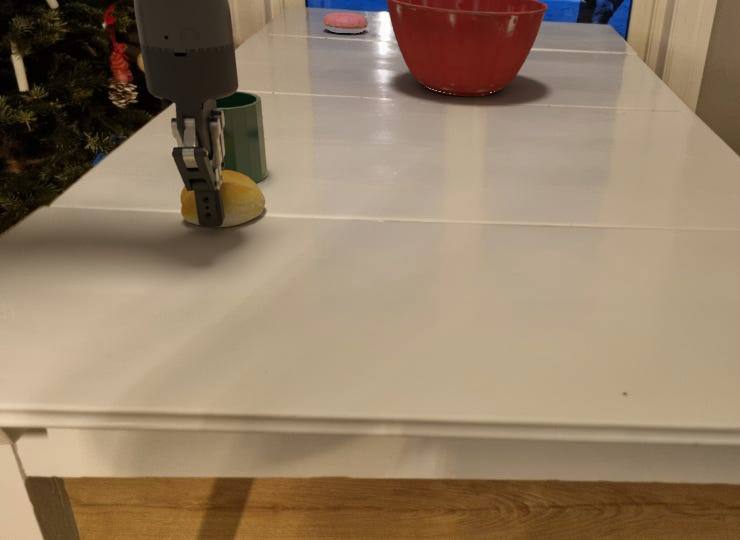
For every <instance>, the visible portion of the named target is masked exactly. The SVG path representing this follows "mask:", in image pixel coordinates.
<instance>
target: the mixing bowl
mask: <svg viewBox="0 0 740 540" xmlns="http://www.w3.org/2000/svg"><path fill="white" fill-rule="evenodd" d="M386 4H387V9H388V15H389V19H390V23H391V28H392V31H393V34H394V37H395V40H396V43H397V46H398V48H399V52H400V54H401V57H402V59H403V61H404V63H405V66H406V67H407V69H408V71H409V72H410V74H411V75H412V76H413V78H414V79H416V81H418V82H419V83H420V84H422V85H423V86H424V87H425V88H426V89H427V90H430V91H432V92H434V93H439V94H443V95H448V96H458V97H484V96H489V95H493V94H496V93H498V92H499V90H502V89H504V88H505V87H507V86H508V85H509V84H510V83H511V82H512V81H513V80H514V79H515V78H516V77H517V75H518V74H519V72H520V71H521V69H522V67H523V66H524V64H525V62H526V60H527V58H528V56H529V55H530V52H531V50H532V48H533V46H534V44H535V41H536V39H537V37H538V35H539V31H540V29H541V26H542V23H543V21H544V17H545V14H546V11H547V10H548V9H549V6H548V4H547V3H545V2H542V1H539V0H386ZM426 86H427V87H429V88H431V89H434V90H437V91H434V90H431V89H429V88H427V87H426ZM438 91H441V92H438ZM494 91H495V92H494ZM443 92H445V93H443ZM490 92H492V93H490ZM449 93H451V94H449Z"/></svg>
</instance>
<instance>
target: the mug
mask: <svg viewBox="0 0 740 540" xmlns="http://www.w3.org/2000/svg"><path fill="white" fill-rule="evenodd" d="M215 100H216V108H217V110H223V113H224V121H225V126H224V147H225V156H224V162H225V167H224V170H231V171H235V172H238V173H241V174H243V175H246V176H248V177H249V178H250V179H251V180H253V181H254V182H255V183H256V184H257V183H260V182H262V181H263V180H265V179H266V177H267V176H268V166H267V165H268V164H267V154H266V143H265V142H266V141H265V131H264V129H265V128H264V120H263V108H262V106H263V105H262V97H261V96H259V95H257V94H255V93H252V92H247V91H239V90H237V91H236V92H235V93H234V94H232V95H230V96H227V97H224V98H220V99H215ZM175 107H176V105H175Z"/></svg>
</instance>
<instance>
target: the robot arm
mask: <svg viewBox="0 0 740 540" xmlns="http://www.w3.org/2000/svg"><path fill="white" fill-rule="evenodd" d="M133 8H134V9H133V10H134V16H135V22H136V23H135V24H136V29H137V34H138V40H139V46H140V53H141V60H142V65H143V70H144V71H143V72H144V77H145V83H146V89H147V91H148V93H149V94H150V95H152V97H154V98H157V99H159V100H169V101H171V102H172V103H174V104H175V105H176V106H175V117H171V119H170V127H171V134H172V137H173V138H174V140H176V144H177V145H176V146H173V147H172V151H171V157H172V158H173V161H174V163H175V166H176V168H177V170H178V173H179V175H180V178H181V180H182V183H183V184H184V187H186V190H187V191H194V194H195V201H196V208H197V215H198V222H199V225H198V226H200V227H203V228H220V227H219V226H221V225H222V224H223V221H224V218H225V214H224V206H223V198H222V190H221V184H222V180H223V175H222V171H224V167H225V162H224V156H225V147H224V126H225V121H224V113H223V110H217V108H216V100H215V99H220V98H224V97H227V96H230V95H232V94H234V93H235V92H236V91H238V89H239V77H238V76H239V75H238V68H237V60H236V59H237V58H236V50H235V41H234V39H235V38H234V31H233V22H232V12H231V6H230V2H229V0H133Z"/></svg>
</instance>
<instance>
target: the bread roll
mask: <svg viewBox="0 0 740 540" xmlns="http://www.w3.org/2000/svg"><path fill="white" fill-rule="evenodd" d="M222 175H223V180H222V184H221V190H222V198H223V206H224V214H225V218H224V221H223V224H222V225H221V226H219V227H218V228H226V227H228V228H229V227H234V226H238V225H242V224H245V223H247V222H249V221H252V220H253V219H255V218H257V217H259V216H260V215H262V213H263V212H264V209H265V206H266V197H265V195H264V193H263V192H262V189H261V188H260V187H259V186H258V184H257V183H255V182H254V181H253V180H251V179H250V178H249V177H248V176H246V175H243V174H241V173H238V172H235V171H231V170H224V171H222ZM180 204H181V208H180V213H181V216H182V217H183V219H184V220H185V221H187V222H188V223H190V224H192V225H193V224H194V225H196V226H200V225H199V222H198V215H197V208H196V201H195V194H194V191H187V190H186V187H185V186H184V187H183V188H182V189H181V192H180Z"/></svg>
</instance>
